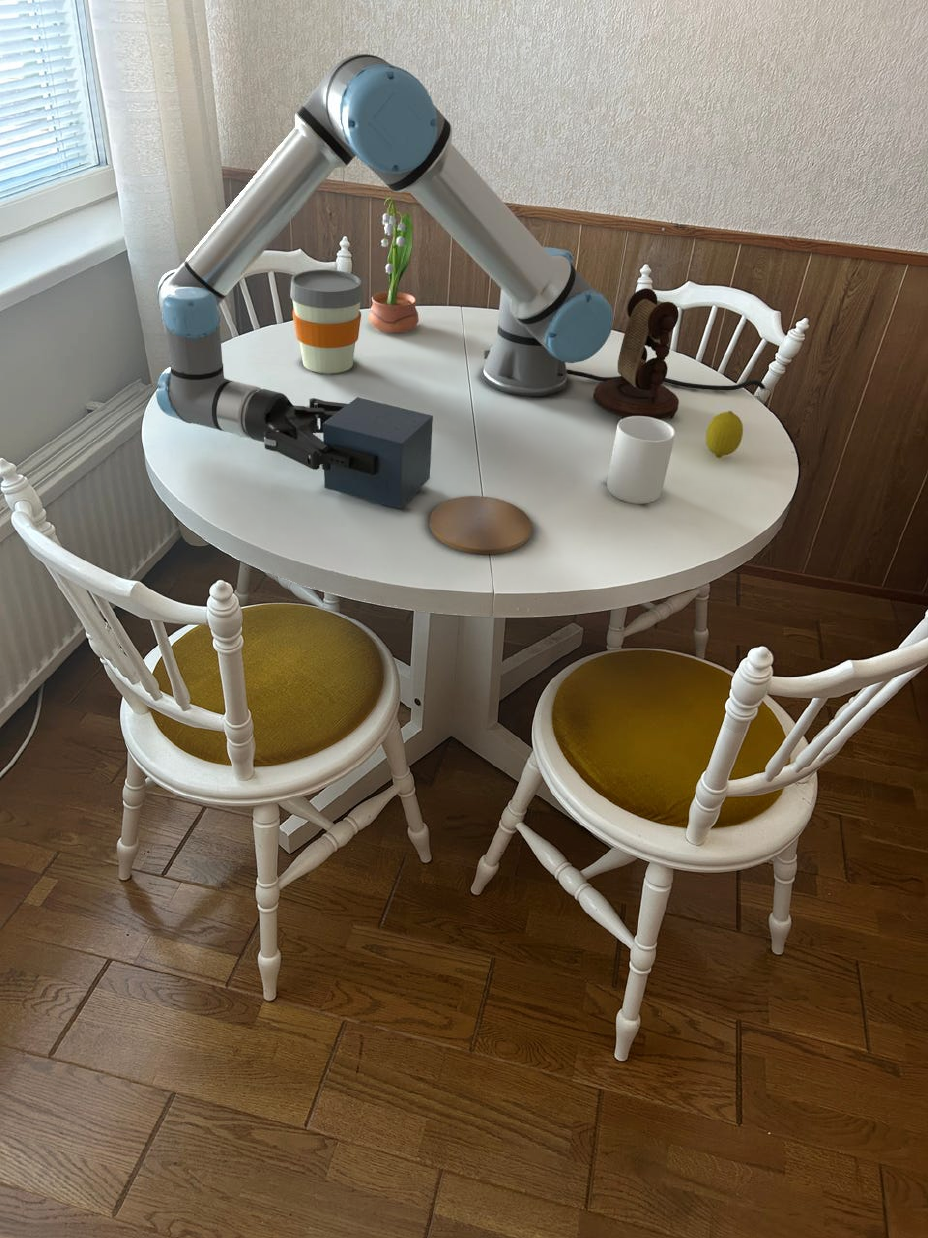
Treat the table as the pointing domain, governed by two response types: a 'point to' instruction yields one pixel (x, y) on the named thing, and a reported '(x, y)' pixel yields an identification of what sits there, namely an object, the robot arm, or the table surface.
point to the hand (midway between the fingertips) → (393, 449)
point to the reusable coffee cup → (326, 318)
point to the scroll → (642, 362)
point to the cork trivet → (480, 525)
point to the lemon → (724, 434)
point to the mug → (640, 459)
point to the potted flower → (395, 279)
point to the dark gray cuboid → (381, 451)
